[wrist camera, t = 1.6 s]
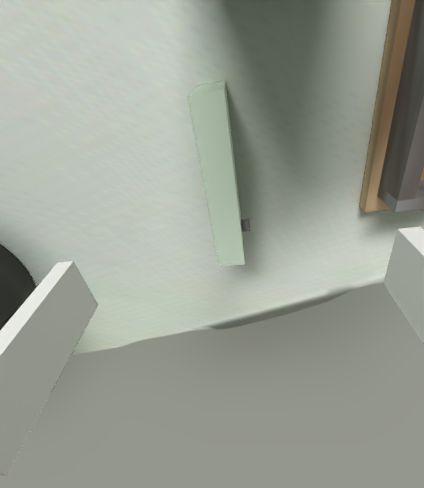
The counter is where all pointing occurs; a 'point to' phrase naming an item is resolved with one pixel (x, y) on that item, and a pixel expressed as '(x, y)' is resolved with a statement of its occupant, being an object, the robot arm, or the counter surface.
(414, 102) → the wooden stand with tray
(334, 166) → the counter surface
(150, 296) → the counter surface
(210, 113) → the pale green rectangular block
